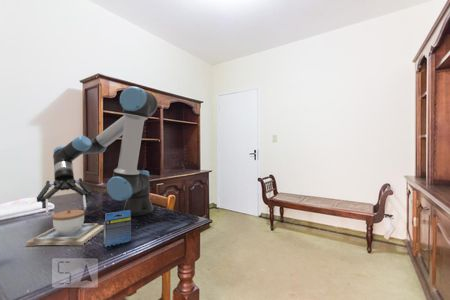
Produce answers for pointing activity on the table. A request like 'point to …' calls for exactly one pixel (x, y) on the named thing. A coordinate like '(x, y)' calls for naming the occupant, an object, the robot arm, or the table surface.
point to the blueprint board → (67, 236)
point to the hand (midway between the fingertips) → (66, 211)
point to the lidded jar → (68, 221)
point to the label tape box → (117, 228)
